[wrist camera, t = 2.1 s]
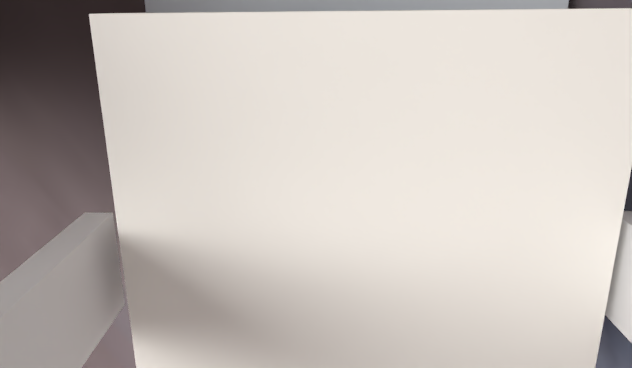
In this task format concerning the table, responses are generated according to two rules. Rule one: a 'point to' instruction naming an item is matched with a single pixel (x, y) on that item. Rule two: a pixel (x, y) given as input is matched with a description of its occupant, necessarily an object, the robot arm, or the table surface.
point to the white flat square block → (367, 184)
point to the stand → (343, 5)
